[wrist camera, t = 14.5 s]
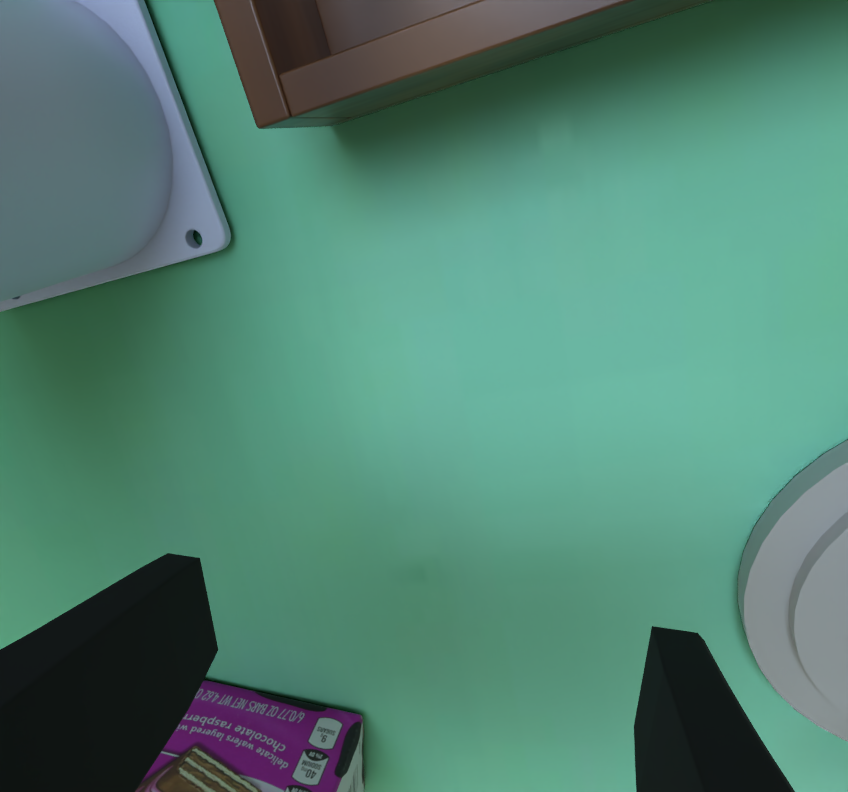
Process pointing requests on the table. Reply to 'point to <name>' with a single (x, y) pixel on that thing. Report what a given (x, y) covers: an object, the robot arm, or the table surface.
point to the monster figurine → (803, 592)
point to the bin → (399, 47)
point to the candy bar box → (259, 746)
